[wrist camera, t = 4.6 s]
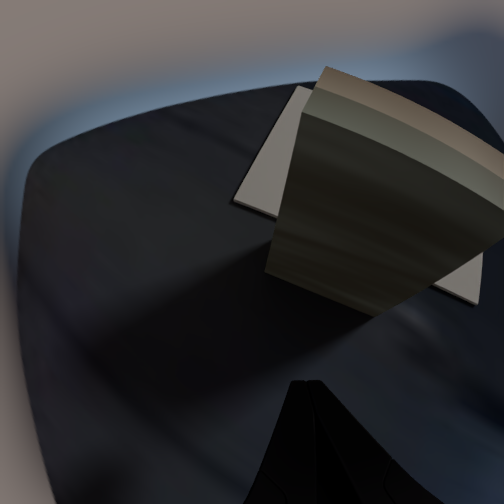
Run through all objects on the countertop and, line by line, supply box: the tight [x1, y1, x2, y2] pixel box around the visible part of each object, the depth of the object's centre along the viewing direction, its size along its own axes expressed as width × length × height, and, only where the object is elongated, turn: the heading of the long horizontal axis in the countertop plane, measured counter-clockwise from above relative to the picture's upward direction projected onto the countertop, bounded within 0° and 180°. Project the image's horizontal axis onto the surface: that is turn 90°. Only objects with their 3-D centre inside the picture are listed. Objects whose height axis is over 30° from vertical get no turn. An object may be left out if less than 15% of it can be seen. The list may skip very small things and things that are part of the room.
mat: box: [234, 86, 483, 305], centre depth 21 cm, size 13×18×1 cm
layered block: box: [264, 66, 504, 317], centre depth 13 cm, size 2×7×12 cm, turn 67°
